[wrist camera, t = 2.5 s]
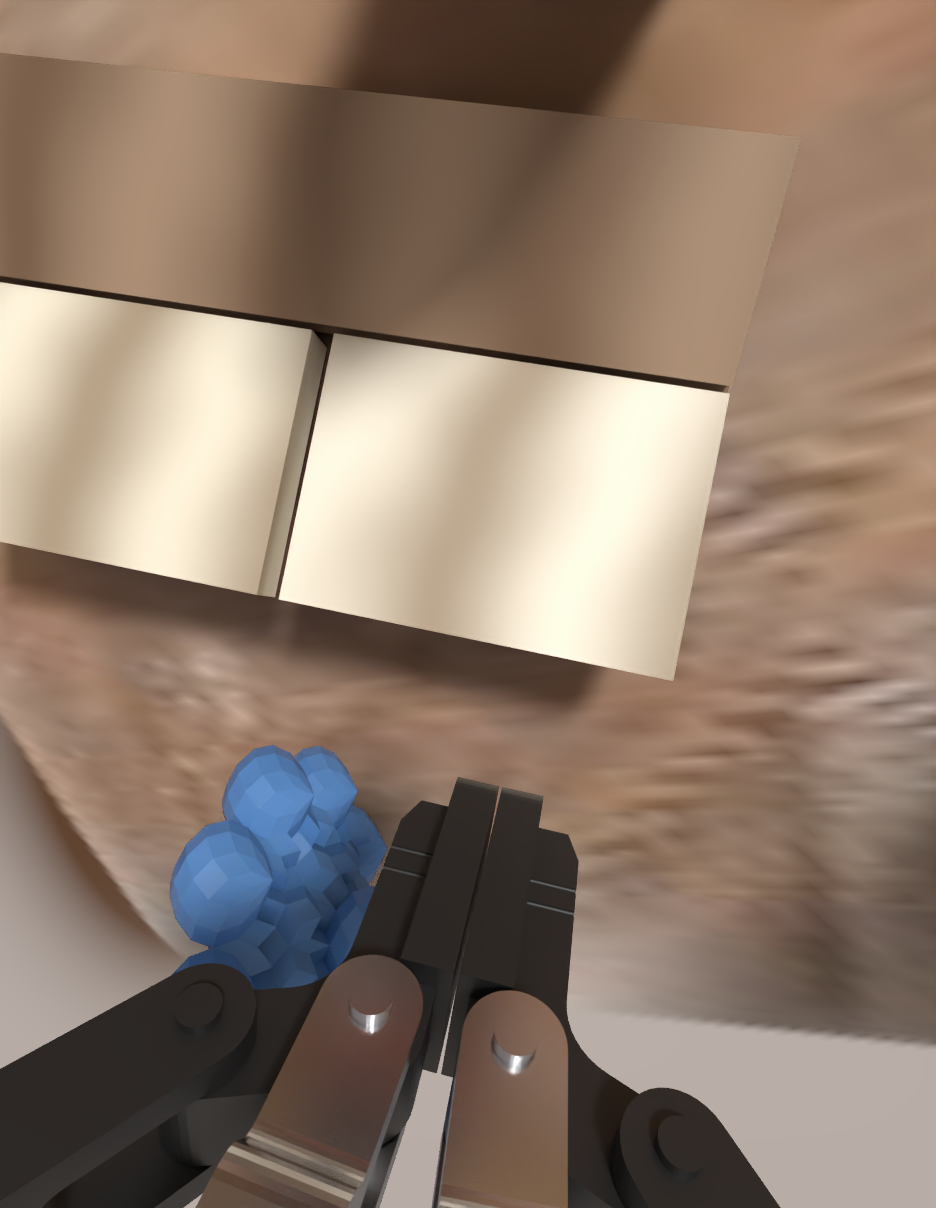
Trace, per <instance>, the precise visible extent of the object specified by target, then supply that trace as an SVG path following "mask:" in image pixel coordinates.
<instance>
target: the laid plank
mask: <svg viewBox="0 0 936 1208" xmlns="http://www.w3.org/2000/svg"><path fill="white" fill-rule="evenodd" d="M801 139H802V137H795V136H785V135H776V134H766V133H757V132H747V131H738V130H728V129H719V128H709V127H700V126H690V125H681V124H671V123H662V122H652V121H643V120H633V119H623V118H614V117H604V116H595V115H585V114H576V113H566V112H557V111H547V110H538V109H528V108H519V107H509V106H500V105H490V104H481V103H471V102H461V101H452V100H442V99H433V98H423V97H414V96H404V95H395V94H385V93H376V92H366V91H357V90H347V89H338V88H328V87H319V86H309V85H300V84H290V83H280V82H271V81H261V80H252V79H242V78H233V77H223V76H214V75H204V74H195V73H185V72H176V71H166V70H157V69H147V68H138V67H128V66H118V65H109V64H99V63H90V62H80V61H71V60H61V59H52V58H42V57H33V56H23V55H14V54H4V53H0V282H2V283H8V284H15V285H21V286H28V287H35V288H41V289H48V290H54V291H61V292H67V293H74V294H80V295H87V296H93V297H100V298H107V299H113V300H120V301H126V302H133V303H139V304H146V305H152V306H159V307H165V308H172V309H179V310H185V311H192V312H198V313H205V314H211V315H218V316H224V317H231V318H237V319H244V320H251V321H257V322H264V323H270V324H277V325H283V326H290V327H296V328H303V329H309V330H313V331H317V332H323V333H330V334H334V333H336V334H342V335H349V336H355V337H362V338H368V339H375V340H381V341H388V342H395V343H401V344H408V345H414V346H421V347H427V348H434V349H440V350H447V351H453V352H460V353H467V354H473V355H480V356H486V357H493V358H499V359H506V360H512V361H519V362H525V363H532V364H539V365H545V366H552V367H558V368H565V369H571V370H578V371H584V372H591V373H598V374H604V375H611V376H617V377H624V378H630V379H637V380H643V381H650V382H656V383H663V384H670V385H676V386H683V387H689V388H696V389H702V390H709V391H715V392H722V393H727V392H728V388H729V386H733V384H734V380H735V377H736V373H737V370H738V366H739V362H740V359H741V355H742V352H743V348H744V344H745V341H746V337H747V334H748V330H749V326H750V323H751V319H752V316H753V312H754V308H755V305H756V301H757V298H758V294H759V290H760V287H761V283H762V280H763V276H764V272H765V269H766V265H767V262H768V258H769V254H770V251H771V247H772V244H773V240H774V236H775V233H776V229H777V226H778V222H779V218H780V215H781V211H782V208H783V204H784V200H785V197H786V193H787V190H788V186H789V182H790V179H791V175H792V172H793V168H794V164H795V161H796V157H797V154H798V150H799V146H800V143H801Z"/></svg>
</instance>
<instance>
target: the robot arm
mask: <svg viewBox="0 0 936 1208" xmlns="http://www.w3.org/2000/svg"><path fill="white" fill-rule="evenodd" d="M498 789H499V786H494V785H490V784H486V783H481V782H477V781H473V780H468V779H464V778H460V777H458V779H457V781H456V784H455V787H454V791H453V794H452V797H451V800H450V803H449V806H448V807H447V806H443V805H439V804H435V803H430V802H426V801H421V802H419V803H418V804H417V805H416V806H415V807H414V808H413V809H412V810H411V811H410V812H409V813H408V814H407V815H406V816H404V817H403V818H402V819H401V822H400V824H399V827H398V830H397V832H396V835H395V837H394V840H393V842H392V846H391V849H390V850H389V853H388V855H387V858H386V860H385V863H384V867H383V870H382V871H381V873H380V876H379V879H378V881H377V884H376V886H375V889H374V891H373V894H372V897H371V899H370V902H369V904H368V907H367V909H366V912H365V915H364V917H363V920H362V922H361V925H360V927H359V930H358V933H357V935H356V938H355V940H354V943H353V945H352V948H351V950H350V952H349V954H348V955H347V957H346V958H345V959H344V961H343V962H342V963H341V964H340V965H339V966H338V967H337V968H336V969H335V970H334V971H332V972H331V973H330V974H328V975H327V976H325V977H323V978H322V979H320V980H317V981H315V982H313V983H310V984H306V985H303V986H297V987H288V988H273V989H258V990H254V989H253V987H252V985H251V983H250V981H249V980H248V979H247V978H246V976H245V975H243V974H242V973H241V972H240V971H238V970H237V969H235V968H233V967H230V966H227V965H224V964H218V963H205V964H199V965H194V966H191V967H188V968H186V969H183V970H181V971H179V972H177V973H175V974H173V975H172V976H170V977H168V978H166V979H164V980H163V981H161V982H159V983H157V984H155V985H153V986H151V987H150V988H148V989H146V990H144V991H142V992H140V993H139V994H137V995H135V996H133V997H131V998H130V999H128V1000H126V1001H124V1002H122V1003H120V1004H119V1005H117V1006H115V1007H113V1008H111V1009H109V1010H107V1011H106V1012H104V1013H102V1014H100V1015H98V1016H97V1017H95V1018H93V1019H91V1020H89V1021H87V1022H85V1023H84V1024H82V1025H80V1026H78V1027H76V1028H75V1029H73V1030H71V1031H69V1032H67V1033H65V1034H64V1035H62V1036H60V1037H58V1038H56V1039H54V1040H52V1041H51V1042H49V1043H47V1044H45V1045H43V1046H41V1047H40V1048H38V1049H36V1050H35V1051H32V1052H31V1053H29V1054H27V1055H25V1056H23V1057H21V1058H20V1059H18V1060H16V1061H14V1062H12V1063H10V1064H9V1065H7V1066H5V1067H3V1068H1V1069H0V1208H183V1207H185V1206H186V1205H187V1204H189V1203H190V1202H191V1201H193V1200H194V1199H196V1198H197V1197H198V1196H199V1195H201V1194H202V1193H203V1194H202V1196H201V1198H200V1200H199V1202H198V1204H197V1206H196V1208H379V1207H380V1204H381V1201H382V1198H383V1195H384V1191H385V1188H386V1185H387V1182H388V1179H389V1176H390V1173H391V1170H392V1167H393V1164H394V1161H395V1157H396V1155H397V1151H398V1148H399V1145H400V1142H401V1139H402V1136H403V1133H404V1130H405V1126H406V1123H407V1121H408V1119H409V1117H410V1115H411V1112H412V1109H413V1105H414V1101H415V1097H416V1093H417V1089H418V1085H419V1080H420V1077H421V1073H422V1069H423V1070H427V1071H430V1072H434V1073H437V1069H438V1065H439V1061H440V1056H441V1052H442V1048H443V1043H444V1038H445V1035H446V1030H447V1026H448V1021H449V1017H450V1013H451V1008H452V1004H453V1000H454V1005H453V1011H452V1016H451V1023H450V1027H449V1033H448V1039H447V1045H446V1050H445V1056H444V1061H443V1067H442V1072H441V1074H443V1075H446V1076H450V1077H453V1081H452V1086H451V1091H450V1097H449V1102H448V1107H447V1112H446V1117H445V1123H444V1128H443V1133H442V1138H441V1145H440V1151H439V1159H438V1166H437V1173H436V1181H435V1187H434V1194H433V1202H432V1208H780V1207H779V1205H778V1204H777V1202H776V1201H775V1199H774V1198H773V1196H772V1195H771V1194H770V1192H769V1191H768V1189H767V1188H766V1186H765V1185H764V1184H763V1182H762V1181H761V1179H760V1178H759V1176H758V1175H757V1173H756V1172H755V1171H754V1169H753V1168H752V1166H751V1165H750V1163H749V1162H748V1161H747V1159H746V1158H745V1156H744V1155H743V1153H742V1152H741V1150H740V1149H739V1148H738V1146H737V1145H736V1143H735V1142H734V1140H733V1139H732V1138H731V1136H730V1135H729V1133H728V1132H727V1130H726V1129H725V1128H724V1126H723V1125H722V1123H721V1122H720V1121H719V1120H718V1118H717V1117H716V1116H715V1115H714V1114H713V1113H712V1112H711V1111H710V1110H709V1109H708V1108H707V1107H706V1106H705V1105H704V1104H702V1103H701V1102H700V1101H698V1100H697V1099H695V1098H694V1097H692V1096H690V1095H688V1094H686V1093H684V1092H681V1091H679V1090H675V1089H670V1088H655V1089H649V1090H647V1091H644V1092H642V1093H640V1094H638V1093H637V1092H635V1091H634V1090H632V1089H630V1088H629V1087H627V1086H626V1085H624V1084H623V1083H621V1082H620V1081H618V1080H616V1079H615V1078H613V1077H612V1076H610V1075H609V1074H607V1073H606V1072H605V1071H603V1070H601V1069H600V1068H599V1067H598V1066H597V1065H595V1063H593V1062H592V1061H591V1060H590V1059H589V1058H588V1057H587V1055H586V1054H585V1053H584V1052H583V1050H582V1049H581V1048H580V1046H579V1044H578V1043H577V1041H576V1040H575V1037H574V1035H573V1033H572V1031H571V1028H570V1025H569V1021H568V1016H567V991H568V979H569V968H570V956H571V944H572V932H573V921H574V917H573V916H574V909H575V897H576V894H575V892H576V885H577V874H578V862H579V861H578V859H577V856H576V854H575V851H574V849H573V846H572V843H571V841H570V838H569V836H568V835H567V834H563V833H559V832H554V831H550V830H546V829H542V828H539V822H540V815H541V809H542V803H543V796H539V795H534V794H530V793H526V792H521V791H517V790H513V789H508V788H504V787H502V790H501V795H500V799H499V803H498V808H497V812H496V816H495V820H494V825H493V829H492V833H491V828H492V822H493V817H494V811H495V806H496V800H497V795H498ZM490 833H491V838H490ZM489 838H490V842H489ZM488 844H489V846H488ZM487 849H488V851H487ZM486 854H487V855H486ZM456 987H457V988H456ZM455 991H456V994H455ZM454 996H455V999H454Z"/></svg>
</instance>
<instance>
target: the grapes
mask: <svg viewBox="0 0 936 1208" xmlns="http://www.w3.org/2000/svg"><path fill="white" fill-rule="evenodd" d="M356 794H357V789H356V787H355V785H354V782H353V780H352V778H351V776H350V774H349V772H348V770H347V768H346V767H345V766H344V764H343V763H342V762H341V761H340V760H339V758H338V757H337V756H336V755H335V753H333V752H331V751H329V750H327V749H324V748H322V747H320V746H316V747H311V748H307V749H303V750H301V751H300V752H299V753H298V754H297V755H296V756H295V757H293V756H292V754H291V753H289V752H287V751H285V750H283V749H280V748H278V747H276V746H274V745H271V746H266V747H262V748H257V749H253V750H252V751H251V752H250V753H249V754H248V755H247V756H246V757H245V758H244V759H243V760H242V761H241V762H240V763H238V764H237V766H236V768H235V770H234V771H233V773H232V775H231V777H230V779H229V781H228V783H227V785H226V788H225V792H224V796H223V800H222V806H223V814H224V817H225V821H221V822H218V823H214V824H210V825H207V826H205V827H204V828H203V829H202V830H201V831H200V832H199V833H198V834H197V835H196V836H195V837H194V838H192V839H191V840H190V841H189V842H188V843H187V844H186V846H185V848H184V850H183V852H182V853H181V855H180V857H179V859H178V861H177V863H176V865H175V867H174V870H173V874H172V879H171V883H170V899H171V903H172V906H173V910H174V914H175V918H176V920H177V922H178V923H179V924H180V926H181V927H182V928H183V930H184V931H185V933H186V934H187V935H188V937H189V938H190V939H191V940H192V941H195V942H198V943H200V944H203V945H206V946H209V947H208V950H206V951H204V952H201V953H198V954H195V955H193V956H190V957H188V959H187V960H186V961H185V962H184V963H183V964H182V965H181V966H180V967H179V968H178V969H177V970H176V971H175V972H174V973H173V974H175V973H177V972H179V971H181V970H183V969H186V968H188V967H191V966H194V965H199V964H205V963H218V964H224V965H227V966H230V967H233V968H235V969H237V970H238V971H240V972H241V973H242V974H243V975H245V976H246V978H247V979H248V980H249V981H250V983H251V985H252V987H253V989H254V990H258V989H273V988H288V987H297V986H303V985H306V984H310V983H313V982H315V981H317V980H320V979H322V978H323V977H325V976H327V975H328V974H330V973H331V972H332V971H334V970H335V969H336V968H337V967H338V966H339V965H340V964H341V963H342V962H343V961H344V959H345V958H346V957H347V955H348V954H349V952H350V950H351V948H352V945H353V943H354V940H355V938H356V935H357V933H358V930H359V927H360V925H361V922H362V920H363V917H364V915H365V912H366V909H367V907H368V904H369V902H370V899H371V897H372V894H373V891H374V889H375V887H373V886H369V882H370V881H371V880H372V879H373V878H374V876H375V874H376V872H377V870H378V868H379V866H380V864H381V862H382V860H383V857H384V855H385V852H386V850H387V847H386V845H385V843H384V841H383V839H382V837H381V835H380V833H379V831H378V829H377V827H376V825H375V823H374V822H373V821H372V820H371V819H370V817H369V816H368V815H367V814H366V812H365V811H364V810H362V809H360V808H358V807H356V806H353V802H354V799H355V797H356ZM173 974H172V975H173ZM172 975H171V976H172Z"/></svg>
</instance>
